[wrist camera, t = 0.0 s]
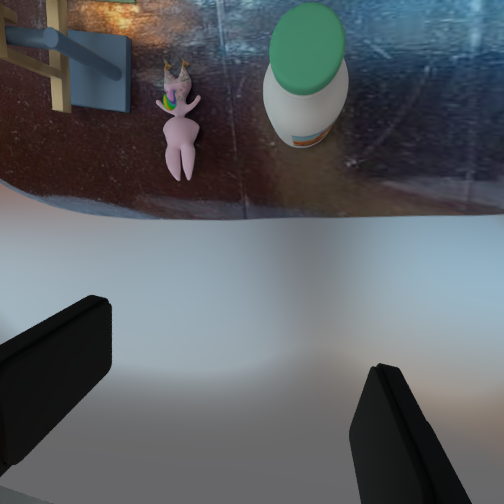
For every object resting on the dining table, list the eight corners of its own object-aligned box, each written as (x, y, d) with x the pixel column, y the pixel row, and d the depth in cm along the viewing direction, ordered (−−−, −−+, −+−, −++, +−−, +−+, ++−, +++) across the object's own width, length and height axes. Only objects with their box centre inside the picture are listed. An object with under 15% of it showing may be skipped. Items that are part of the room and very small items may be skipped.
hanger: (55, -3, 33) (-76, -99, 22) (66, -2, 33) (-60, -99, 21) (61, 111, 37) (-48, 82, 25) (71, 113, 37) (-33, 84, 25)
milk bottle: (272, 148, 37) (242, 118, 18) (274, 84, 34) (243, -29, 15) (330, 148, 35) (366, 115, 16) (336, 82, 33) (385, -44, 14)
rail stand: (59, 32, 37) (-37, -26, 27) (131, 40, 36) (61, -18, 25) (62, 103, 40) (-24, 77, 29) (130, 113, 39) (66, 89, 28)
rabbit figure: (162, 74, 38) (168, 183, 39) (137, 47, 32) (145, 176, 33) (205, 69, 37) (209, 181, 38) (186, 39, 31) (193, 173, 32)
